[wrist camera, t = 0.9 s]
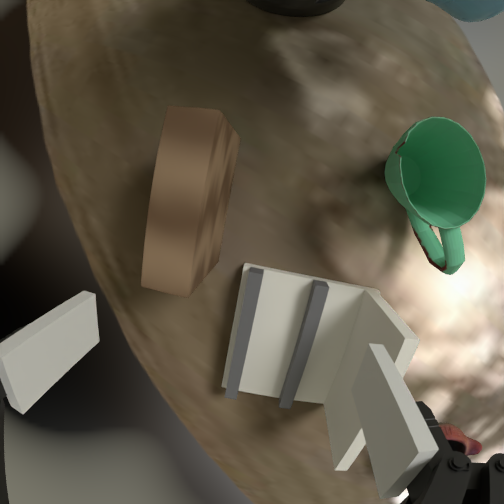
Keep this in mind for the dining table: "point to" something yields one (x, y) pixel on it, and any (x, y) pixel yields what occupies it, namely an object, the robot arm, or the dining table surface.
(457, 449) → the bowl
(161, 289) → the door slab
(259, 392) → the track sill
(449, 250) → the mug
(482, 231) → the dining table surface
